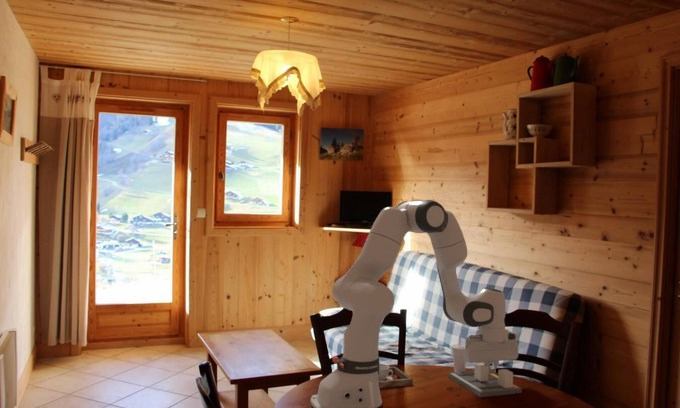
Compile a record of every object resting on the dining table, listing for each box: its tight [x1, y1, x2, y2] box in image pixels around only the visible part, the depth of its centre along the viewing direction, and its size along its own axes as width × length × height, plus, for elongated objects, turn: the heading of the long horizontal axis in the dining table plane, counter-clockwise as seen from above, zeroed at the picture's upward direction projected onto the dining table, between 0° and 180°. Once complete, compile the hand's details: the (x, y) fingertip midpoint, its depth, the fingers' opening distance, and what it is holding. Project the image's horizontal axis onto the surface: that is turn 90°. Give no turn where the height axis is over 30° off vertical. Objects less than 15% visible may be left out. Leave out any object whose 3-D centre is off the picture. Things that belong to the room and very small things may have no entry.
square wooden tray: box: [379, 366, 414, 389], centre depth 195 cm, size 15×15×2 cm
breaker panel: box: [447, 362, 523, 398], centre depth 192 cm, size 16×21×7 cm
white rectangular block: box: [473, 363, 490, 381], centre depth 192 cm, size 3×4×5 cm
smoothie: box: [451, 334, 467, 373], centre depth 206 cm, size 6×6×14 cm
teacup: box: [378, 363, 394, 381], centre depth 196 cm, size 10×10×5 cm
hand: (490, 373), depth 193 cm, fingers closed
